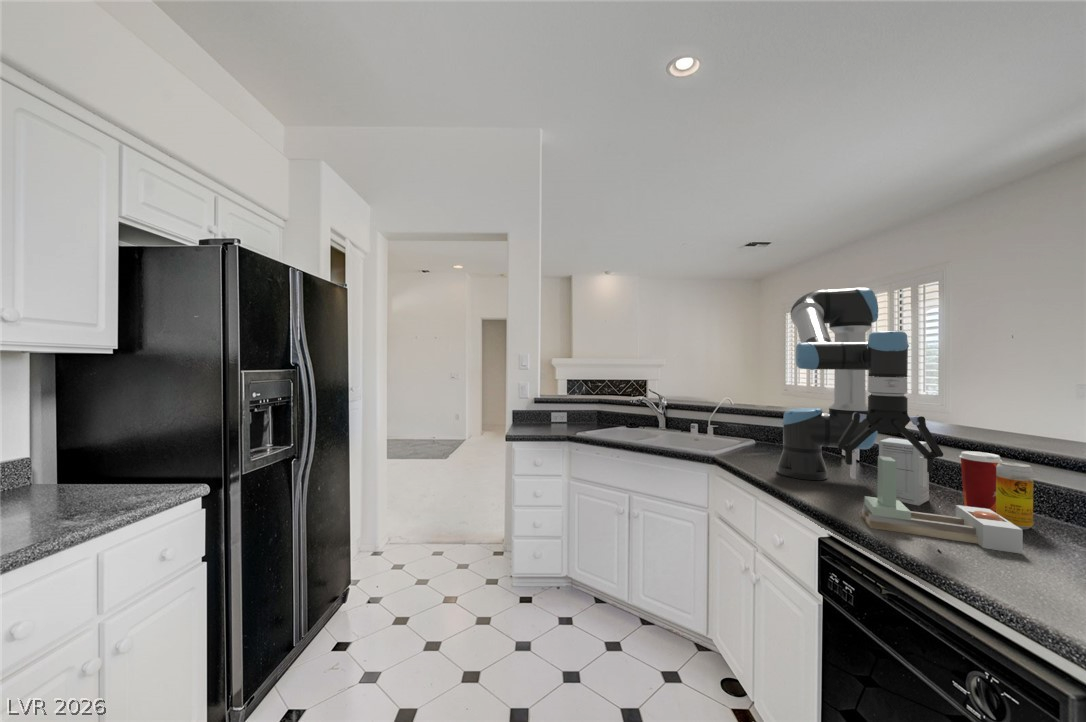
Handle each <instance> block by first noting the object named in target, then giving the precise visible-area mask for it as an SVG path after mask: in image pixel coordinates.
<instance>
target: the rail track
mask: <svg viewBox="0 0 1086 722" xmlns="http://www.w3.org/2000/svg"><path fill="white" fill-rule="evenodd" d="M910 511H911V510H910ZM861 516H862V518H863V519H864V520H865V523H866V524H867V525H868V526H869V528H870V529H875V530H876V529H877V530H883V531H890V532H896V533H902V534H903V533H904V534H910V535H917V536H924V537H932V538H938V539H945V540H952V541H958V542H963V543H965V542H966V543H972V544H978V536H976V528H975V527H973V526H965V525H964V519H963V518H960V517H956V516H951V515H943V514H936V513H935V514H934V513H926V512H919V511H911V520H905V519H897V518H890V517H883V516H875V515H873V514H872V513H871V512H870V510H869V509H868V508H867V506H866V505H865V504H863V505H862V510H861ZM978 545H979V544H978Z"/></svg>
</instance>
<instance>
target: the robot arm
mask: <svg viewBox="0 0 1086 722" xmlns="http://www.w3.org/2000/svg"><path fill="white" fill-rule="evenodd" d="M876 296H877V295H876V294H875V292H874V291H873V290H872V289H871V288H869V287H852V288H851V287H849V288H847V287H845V288H837V289H836V288H834V289H820V290H819V289H817V290H813V291H810V292H807V293H806V294H804V295H802V296H801V297H799V298H798V299H797V300H796V301H795V302H794V303H793V305H792V307H791V309H790V319H791V321H792V323H793V325H795V326H796V330H797V333H798V336H799V341H800V342H799V343H798V344H796V346H795V366H796V367H797V368H798V369H800V370H803V369H804V370H811V371H812V370H813V371H814V370H815V371H816V370H834V376H833V378H834V383H833V384H834V389H833V390H834V395H833V398H834V399H833V400H834V402H833V403H832V404H831V405H830V406H828V412H823V409H822V408H820V407H802V408H801V407H800V408H792V409H787V410H786V411H784V413H783V419H782V432H783V433H782V435H783V437H782V452H781V454H780V457H779V460H778V463H777V467H776V472H777V473H778V474H780V475H782V476H786V477H788V478H793V479H799V480H807V481H809V480H810V481H823V480H826V479H828V478H829V477H828V475H829V474H828V469H827V466H826V463H825V461H824V457H823V455H822V454H823V453H822V449H823V448H822V447H826V448H827V447H828V448H837V449H840V450H843V451H844V452H845V453H844V457H845V458H844V461H845V464H846V465H849V477H850V478H851V479H852V480H857V478H856V477H857V453H856V452H855V450H869V449H871V448H873V447H874V445H875V443H876V440H877V437H878V433H880V434H887V433H890V434H899V433H900V434H901V435H902V436H903V437H904V439H905V440H908V441H909V442H910V443H911V444H912V445H913V446H914V447H915V448H916V449H917V450H918V451H919V452H920V453H921V454H922V455H923V456H924V457H919V484H920V485H921V486H923V487H927V472H929V473H932V472H933V469H934V468H933V466H934V464H933V460H934V459H935V458H942V457H943V456H944V453H943V451H942V449H941V448H940V446H939V444H938V442H937V441H936V440H935V438H934V437H933V435H932V433H931V431H930V430H929V428H928V427H927V423H926V417H925V416H922V415H916V416H909V413H908V411H909V410H908V406H909V405H908V399H909V398H908V397H907V396H905V395H906V394H908V374H909V373H908V366H909V365H908V364H909V363H908V361H909V359H908V358H909V355H908V354H909V352H908V351H909V347H910V345H909V344H908V343H909V340H908V335H907V333H906V332H905V331H899V330H898V331H897V330H893V331H892V330H891V331H890V330H889V331H888V330H886V331H885V330H884V331H873V332H871V333H869V335H868V339H866V337H867V334H866V333H867V332H868V331H870V329H871V328H872V323H875V322H877V321H878V319H879V304H878V300H877V299H878V298H877V297H876ZM826 324H829V325H828V326H829V327H828V328H829V330H830V331H831V332H833V334H834V341H832V340H831V337H830V334H829V332H828V328H827V327H826V326H827V325H826ZM866 340H867V341H866ZM866 371H868V372H867V373H868V375H866ZM866 376H868V379H867V382H868V383H867V385H868V386H867V391H868V393H870V394H868V396H867V403H866V378H867V377H866ZM910 422H911V423H912V424H913V425H915V426H916V428H917V429H918V431H919V433H920V434H921V436H922V438H923V439H924V442H926V443H927V444H928V446H929V449H930V450H929V451H928V450H927V449H926V448H925V447H924V446H923V445H922V444H921V443H920V442H919V441H920V440H918V439H917V438H916V437H915V436H914V435H913V434H912V433H911V431H910V430H909V429H907V427H906V426H907V425H908V424H909V423H910Z"/></svg>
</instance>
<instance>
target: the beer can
mask: <svg viewBox="0 0 1086 722" xmlns="http://www.w3.org/2000/svg"><path fill="white" fill-rule="evenodd" d="M995 513H997V514H998V515H1000V516H1001V517H1003V518H1005V519H1006V520H1008V521H1009V522H1011V523H1012V524H1014V525H1016V526H1017V527H1019V528H1020V529H1022V530H1030V528H1032V527H1033V526H1034V470H1033V468H1032V466H1031V465H1030V464H1026V463H1020V462H1015V461H1003V462H999V463H998V465H997V466H996V512H995Z"/></svg>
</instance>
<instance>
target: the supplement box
mask: <svg viewBox="0 0 1086 722" xmlns="http://www.w3.org/2000/svg"><path fill="white" fill-rule="evenodd" d="M918 441H919V442H920V443H921V444H922V445H923V446H924V447H925V448H926V449H927V450H928V451H929V452H930V450H929V449H930V447H929V446H928V444H927V443H926V441H922V440H921V441H920V440H918ZM878 456H883V457H891V458H892V459H894V460H895V461H896V500H899V501H900V502H901V503H904V504H910V505H914V506H919V507H920V506H922V505H923V504H925V503H926V502H928V501H930V472H927V487H923V486H921V485H920V484H919V457H924V456H923V455H922V454H921V453H920V452H919V451H918V450H917V449H916V448H915V447H914V446H913V445H912V444H911V443H910V442H909V441H908V440H907V439H905V438H904V439H903V438H893V437H888V438H884V439H882V440H881V439H880V440H879V441H878Z"/></svg>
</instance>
